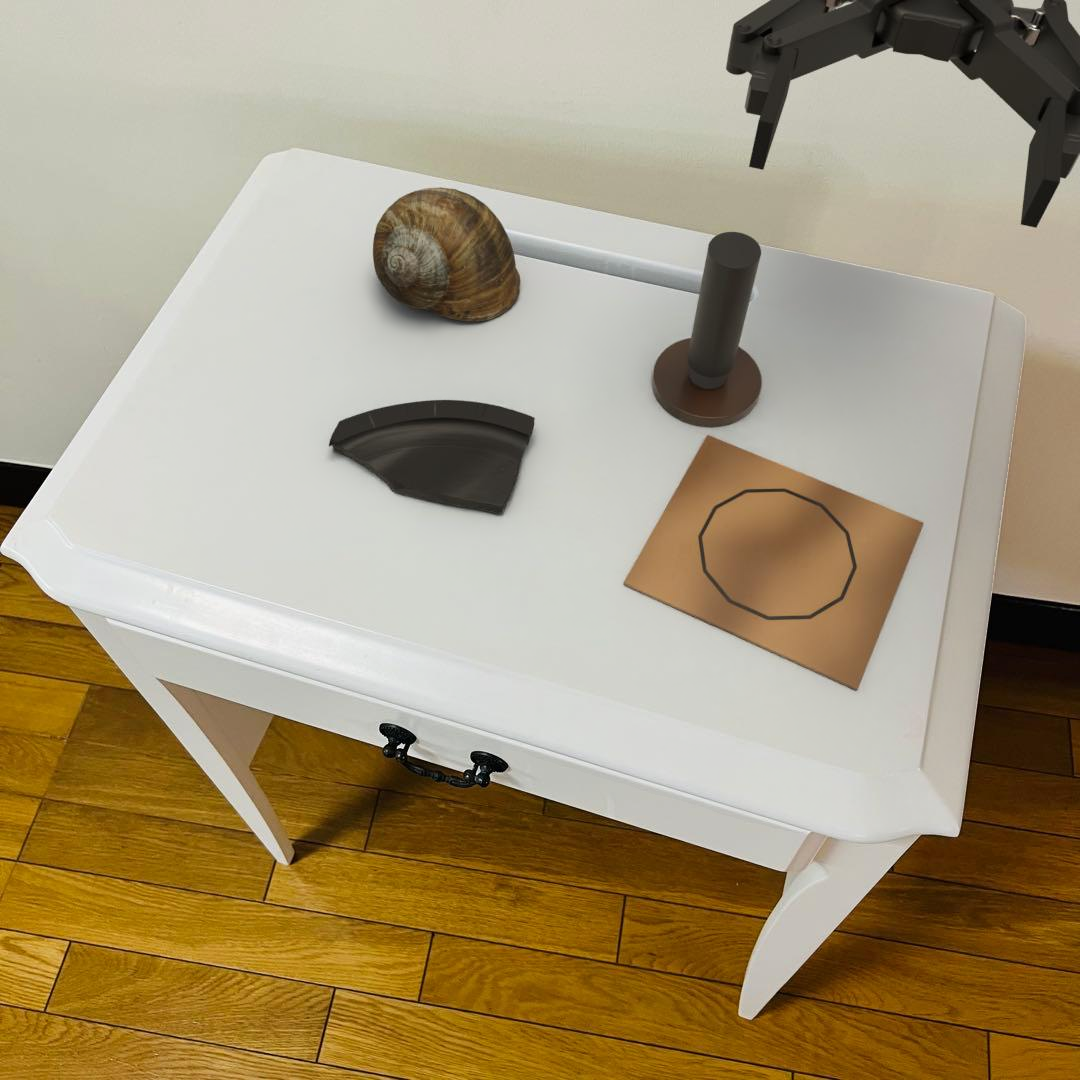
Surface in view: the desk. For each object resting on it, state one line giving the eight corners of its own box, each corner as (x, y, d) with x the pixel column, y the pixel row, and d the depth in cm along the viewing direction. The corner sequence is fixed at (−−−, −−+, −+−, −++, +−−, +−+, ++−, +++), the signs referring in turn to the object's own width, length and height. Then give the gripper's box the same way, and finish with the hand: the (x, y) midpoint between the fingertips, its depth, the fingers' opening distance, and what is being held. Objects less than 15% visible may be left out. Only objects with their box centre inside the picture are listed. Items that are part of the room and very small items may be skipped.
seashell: (358, 311, 82) (343, 230, 75) (406, 234, 86) (396, 152, 80) (493, 347, 80) (490, 268, 73) (534, 267, 84) (535, 185, 78)
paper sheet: (922, 524, 71) (924, 521, 71) (856, 690, 65) (858, 688, 64) (706, 437, 75) (707, 433, 75) (623, 584, 69) (623, 582, 68)
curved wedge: (362, 388, 77) (359, 373, 76) (538, 428, 76) (538, 414, 74) (319, 475, 73) (315, 461, 72) (504, 520, 71) (504, 506, 70)
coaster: (775, 368, 79) (777, 359, 78) (735, 442, 75) (737, 433, 74) (678, 331, 81) (679, 322, 80) (634, 401, 77) (635, 392, 76)
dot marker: (737, 368, 78) (769, 242, 67) (719, 398, 76) (749, 274, 66) (695, 351, 78) (720, 225, 68) (677, 382, 77) (700, 256, 67)
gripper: (1131, 52, 63) (1124, 288, 52) (728, -22, 67) (644, 183, 56) (1198, -76, 57) (1207, 162, 46) (749, -149, 61) (659, 54, 50)
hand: (897, 174), depth 51 cm, fingers open, 13 cm apart
